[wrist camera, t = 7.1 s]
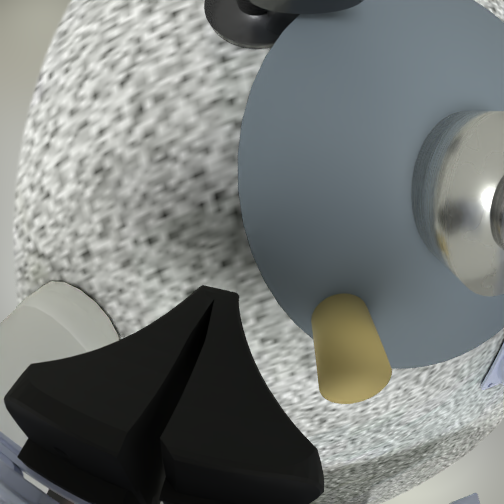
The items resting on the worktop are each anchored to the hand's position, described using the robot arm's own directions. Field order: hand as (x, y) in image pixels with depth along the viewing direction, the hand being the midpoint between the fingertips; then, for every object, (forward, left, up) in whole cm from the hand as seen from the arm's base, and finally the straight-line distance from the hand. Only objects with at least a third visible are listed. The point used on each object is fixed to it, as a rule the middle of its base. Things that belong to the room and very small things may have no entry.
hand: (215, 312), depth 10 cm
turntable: (-10, -4, -3) cm, 11 cm away
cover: (-10, -4, -1) cm, 11 cm away
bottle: (+12, +5, -4) cm, 14 cm away
